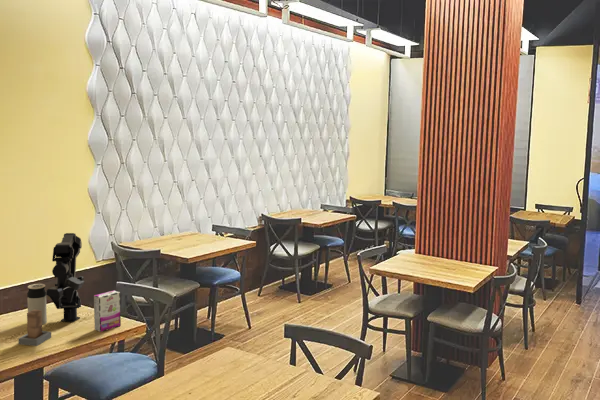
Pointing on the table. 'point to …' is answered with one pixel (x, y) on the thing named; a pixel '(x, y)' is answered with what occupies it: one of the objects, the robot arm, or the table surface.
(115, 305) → the candy bar box
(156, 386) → the table surface
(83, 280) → the robot arm
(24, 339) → the slotted holder
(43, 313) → the travel mug
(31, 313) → the walnut post
